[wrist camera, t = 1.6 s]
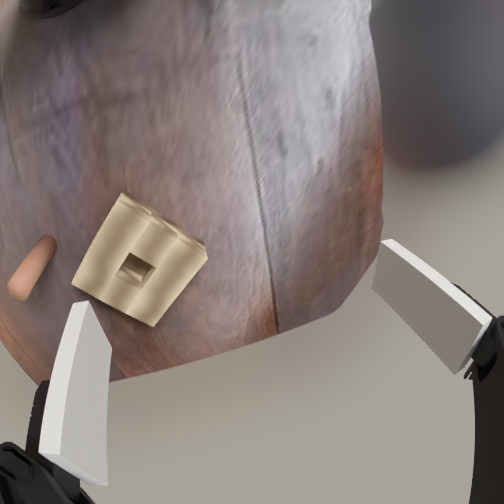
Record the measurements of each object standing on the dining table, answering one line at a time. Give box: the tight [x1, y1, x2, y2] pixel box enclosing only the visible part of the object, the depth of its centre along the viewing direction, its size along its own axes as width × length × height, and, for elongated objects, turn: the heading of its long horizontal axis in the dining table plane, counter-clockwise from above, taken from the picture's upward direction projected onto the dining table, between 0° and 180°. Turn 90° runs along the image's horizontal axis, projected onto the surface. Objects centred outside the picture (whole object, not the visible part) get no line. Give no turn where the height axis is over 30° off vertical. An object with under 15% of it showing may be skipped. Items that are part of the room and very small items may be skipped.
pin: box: [7, 235, 57, 302], centre depth 33 cm, size 4×4×14 cm
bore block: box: [71, 189, 208, 327], centre depth 43 cm, size 16×16×6 cm
